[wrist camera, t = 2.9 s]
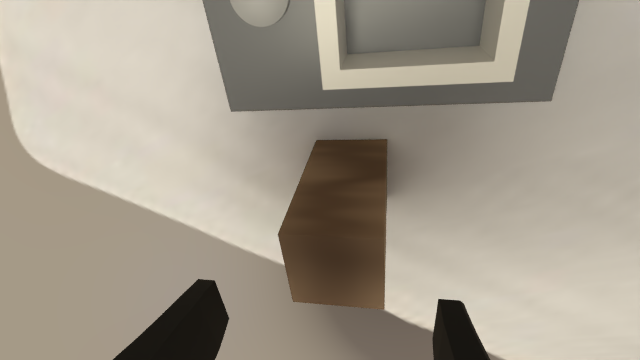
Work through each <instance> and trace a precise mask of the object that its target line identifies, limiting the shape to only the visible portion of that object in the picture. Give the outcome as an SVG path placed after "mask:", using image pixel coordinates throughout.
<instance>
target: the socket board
mask: <svg viewBox="0 0 640 360" xmlns="http://www.w3.org/2000/svg"><path fill="white" fill-rule="evenodd" d="M578 2H579V0H203V4H204V8H205V12H206V16H207V20H208V24H209V28H210V31H211V35H212V39H213V43H214V47H215V51H216V55H217V59H218V63H219V67H220V70H221V74H222V78H223V82H224V86H225V90H226V94H227V98H228V102H229V106H230V109H231V112H233V111H264V110H295V109H325V108H356V107H387V106H417V105H448V104H479V103H509V102H540V101H551V100H552V97H553V93H554V89H555V86H556V82H557V78H558V75H559V71H560V68H561V64H562V60H563V57H564V53H565V49H566V46H567V42H568V38H569V35H570V31H571V28H572V24H573V20H574V17H575V13H576V9H577V6H578Z"/></svg>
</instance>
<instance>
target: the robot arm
mask: <svg viewBox="0 0 640 360" xmlns="http://www.w3.org/2000/svg"><path fill="white" fill-rule="evenodd" d="M228 320H229V317H228V315H227V312H226V309H225V306H224V304H223V301H222V299H221V296H220V293H219V291H218V288H217V286H216V283H215V281H214V280H202V279H198V280H197V281H196V282H195V283H194V284H193V285H192V286H191V287H190V288H189V289H188V290H187V291H186V292H184V293H183V294H182V295H181V296H180V297H179V298H178V299H177V300H176V301H175V302H174V303H173V304H172V305H171V306H170V307H169V308H168V309H167V310H166V311H165V312H164V313H163V314H162V315H161V316H160V317H159V318H158V319H157V320H156V321H155V322H154V323H153V324H152V325H150V326H149V327H148V328H147V329H146V330H145V331H144V332H143V333H142V334H141V335H140V336H139V337H138V338H137V339H135V340H134V341H133V342H132V343H131V344H130V345H129V346H128V347H126V349H124V350H123V351H122V352H121V353H120V354H119V355H117V356H116V357H115V358H114V359H113V360H215V358H216V356H217V354H218V351H219V349H220V346H221V343H222V340H223V337H224V334H225V330H226V327H227V324H228ZM433 355H434V360H490V358H489V357H488V354H487V353H486V351H485V349H484V347H483V345H482V343H481V341H480V339H479V337H478V335H477V333H476V331H475V328H474V326H473V324H472V322H471V320H470V317H469V315H468V313H467V310H466V308H465V305H464V304H463V303H462V302H461V301H457V300H444V299H439V300H438V306H437V313H436V320H435V326H434V333H433Z"/></svg>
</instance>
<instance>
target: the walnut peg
mask: <svg viewBox="0 0 640 360" xmlns="http://www.w3.org/2000/svg"><path fill="white" fill-rule="evenodd" d="M386 209H387V139H375V140H316V142H315V145H314V147H313V150H312V152H311V155H310V157H309V159H308V162H307V164H306V167H305V169H304V172H303V174H302V177H301V179H300V181H299V184H298V186H297V189H296V191H295V194H294V196H293V199H292V201H291V204H290V206H289V208H288V211H287V213H286V216H285V218H284V221H283V223H282V226H281V228H280V230H279V233H278V237H279V241H280V246H281V250H282V255H283V259H284V263H285V268H286V272H287V276H288V281H289V285H290V290H291V294H292V299H293V302H303V303H315V304H326V305H339V306H349V307H361V308H374V309H384V298H385V254H386Z"/></svg>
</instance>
